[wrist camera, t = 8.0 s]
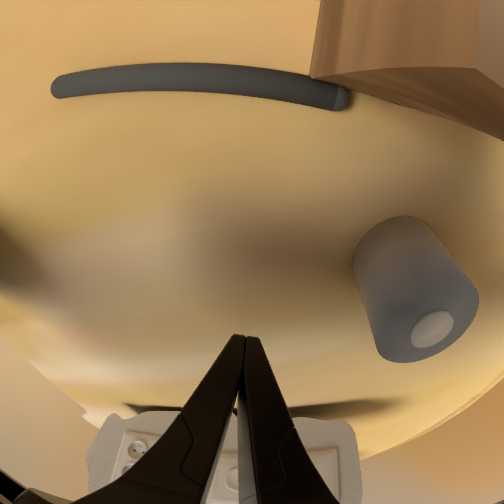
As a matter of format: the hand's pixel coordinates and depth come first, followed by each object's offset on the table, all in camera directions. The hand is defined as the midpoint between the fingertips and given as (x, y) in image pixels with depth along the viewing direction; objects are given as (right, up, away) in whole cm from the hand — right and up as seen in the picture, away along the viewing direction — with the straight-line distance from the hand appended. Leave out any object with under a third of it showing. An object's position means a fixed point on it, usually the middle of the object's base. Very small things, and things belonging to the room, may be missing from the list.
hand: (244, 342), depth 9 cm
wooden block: (+5, +11, -1) cm, 12 cm away
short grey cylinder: (+8, +3, +5) cm, 10 cm away
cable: (-3, +10, +1) cm, 10 cm away
